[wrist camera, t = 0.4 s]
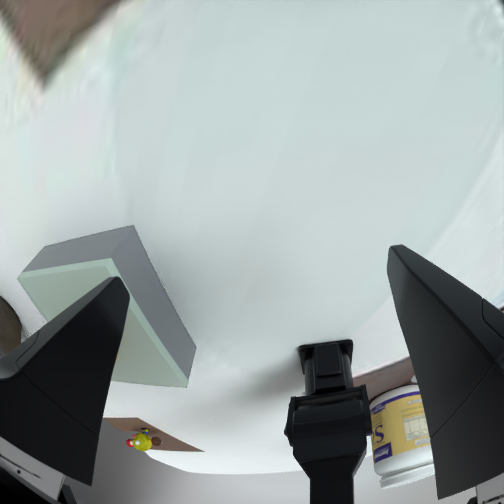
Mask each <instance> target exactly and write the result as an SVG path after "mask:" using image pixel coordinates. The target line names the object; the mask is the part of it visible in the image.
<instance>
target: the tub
mask: <svg viewBox="0 0 504 504" xmlns="http://www.w3.org/2000/svg"><path fill="white" fill-rule="evenodd" d="M106 258H111V259H112V261H113V262H114V264H115V266H116V268H117V270H118V272H119V273H120V275H121V277H122V279H123V281H124V282H125V284H126V286H127V288H128V289H129V291H130V293H131V295H132V296H133V298H134V300H135V301H136V303H137V305H138V306H139V308H140V309H141V311H142V313H143V314H144V316H145V318H146V319H147V321H148V322H149V324H150V325H151V327H152V329H153V330H154V332H155V333H156V335H157V336H158V338H159V339H160V341H161V342H162V344H163V345H164V347H165V348H166V350H167V351H168V352H169V354H170V355H171V357H172V358H173V360H174V361H175V362H176V364H177V365H178V367H179V368H180V369H181V371H182V372H183V373H184V375H185V376H186V377H187V379H188V380H189V376H190V372H191V368H192V363H193V359H194V355H195V351H196V346H195V344H194V342H193V341H192V339H191V337H190V335H189V334H188V332H187V330H186V328H185V327H184V325H183V323H182V321H181V319H180V318H179V316H178V314H177V312H176V310H175V308H174V307H173V305H172V303H171V301H170V299H169V297H168V295H167V293H166V292H165V290H164V288H163V286H162V284H161V282H160V280H159V278H158V276H157V274H156V272H155V270H154V268H153V266H152V264H151V262H150V260H149V258H148V256H147V253H146V251H145V249H144V247H143V245H142V243H141V241H140V238H139V236H138V234H137V232H136V230H135V227H134V225H132V226H127V227H123V228H118V229H114V230H109V231H105V232H101V233H97V234H92V235H88V236H84V237H80V238H76V239H72V240H68V241H64V242H60V243H57V244H53V245H49V246H45V247H44V248H43V249H42V250H41V251H40V252H39V253H38V254H37V255H36V257H35V258H34V259H33V260H32V261H31V262H30V263H29V265H28V266H27V267H26V268H25V269H24V270H23V271H22V272H28V271H33V270H39V269H45V268H51V267H57V266H63V265H69V264H75V263H81V262H87V261H94V260H100V259H106Z"/></svg>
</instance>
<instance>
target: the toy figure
mask: <svg viewBox="0 0 504 504" xmlns="http://www.w3.org/2000/svg"><path fill="white" fill-rule="evenodd" d="M141 430H143V432H142V433H137V434H134V435H133V436H132V437H133V439H132V440H131V439H128V440H127V441H126V443H127V445H128V446H129V447H133V446H134V447H135V448H136V449H138V450H140V451H147V450H149V449H150V447H151V445H152V444H153V445H155V446H159V445H160V444H161V439H160V438H158V437H153V438H152V439H150V437H148V435H147V433H148V430H149V429H147V428H141ZM145 430H146V431H145ZM144 432H145V434H144Z"/></svg>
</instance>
